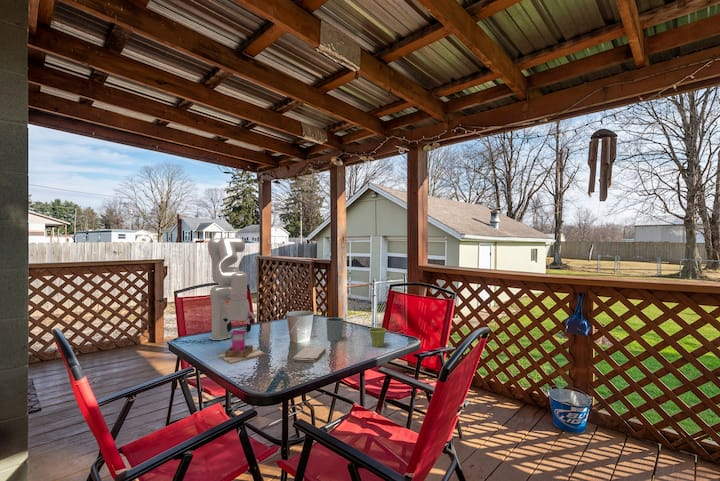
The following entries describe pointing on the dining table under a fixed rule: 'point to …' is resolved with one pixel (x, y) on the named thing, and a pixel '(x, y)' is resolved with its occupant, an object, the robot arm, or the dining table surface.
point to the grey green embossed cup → (334, 329)
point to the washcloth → (309, 355)
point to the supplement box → (238, 340)
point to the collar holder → (241, 354)
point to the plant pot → (377, 336)
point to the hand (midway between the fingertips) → (238, 331)
